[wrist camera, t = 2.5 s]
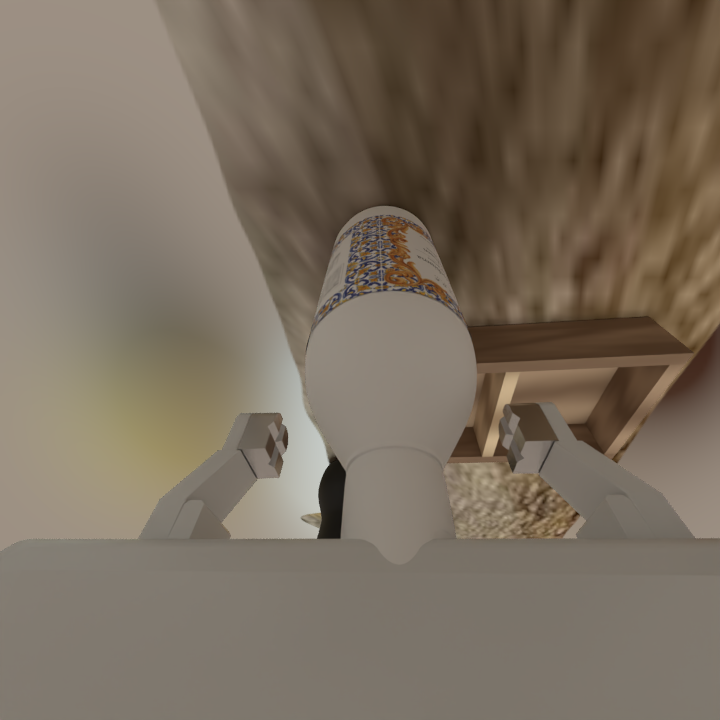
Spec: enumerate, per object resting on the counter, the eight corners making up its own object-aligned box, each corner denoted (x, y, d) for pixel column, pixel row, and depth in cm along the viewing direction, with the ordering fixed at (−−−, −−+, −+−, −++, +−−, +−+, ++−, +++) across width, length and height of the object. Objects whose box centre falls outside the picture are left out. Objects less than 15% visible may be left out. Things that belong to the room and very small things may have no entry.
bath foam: (451, 260, 22) (629, 637, 7) (376, 315, 25) (381, 656, 10) (390, 177, 19) (463, 537, 3) (313, 252, 22) (174, 612, 7)
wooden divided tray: (356, 333, 26) (354, 369, 23) (648, 316, 24) (694, 353, 21) (368, 428, 35) (368, 464, 31) (586, 421, 33) (611, 459, 29)
